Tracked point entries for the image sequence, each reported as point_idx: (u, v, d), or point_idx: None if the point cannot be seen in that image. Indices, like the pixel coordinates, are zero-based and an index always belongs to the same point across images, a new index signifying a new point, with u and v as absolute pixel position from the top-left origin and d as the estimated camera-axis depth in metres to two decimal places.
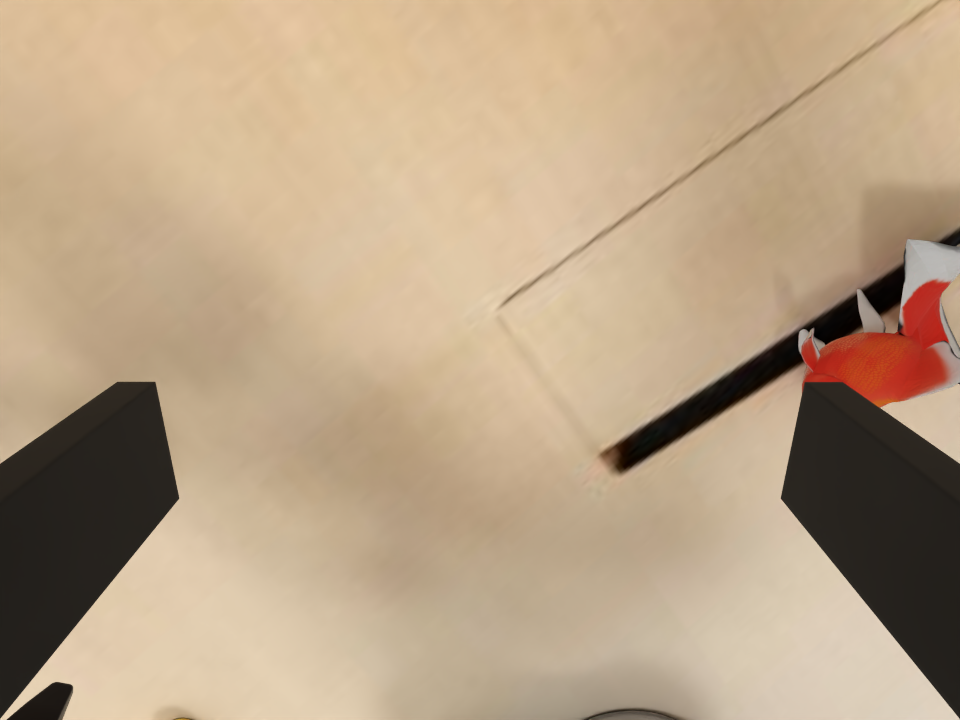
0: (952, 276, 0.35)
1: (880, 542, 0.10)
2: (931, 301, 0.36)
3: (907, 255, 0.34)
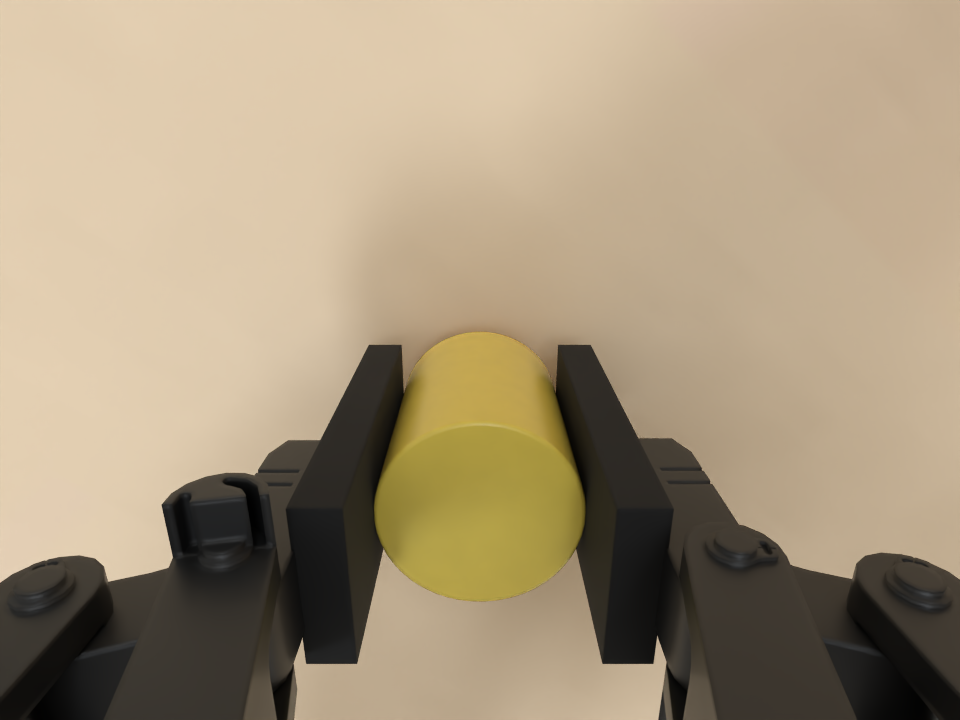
0: None
1: None
2: None
3: None
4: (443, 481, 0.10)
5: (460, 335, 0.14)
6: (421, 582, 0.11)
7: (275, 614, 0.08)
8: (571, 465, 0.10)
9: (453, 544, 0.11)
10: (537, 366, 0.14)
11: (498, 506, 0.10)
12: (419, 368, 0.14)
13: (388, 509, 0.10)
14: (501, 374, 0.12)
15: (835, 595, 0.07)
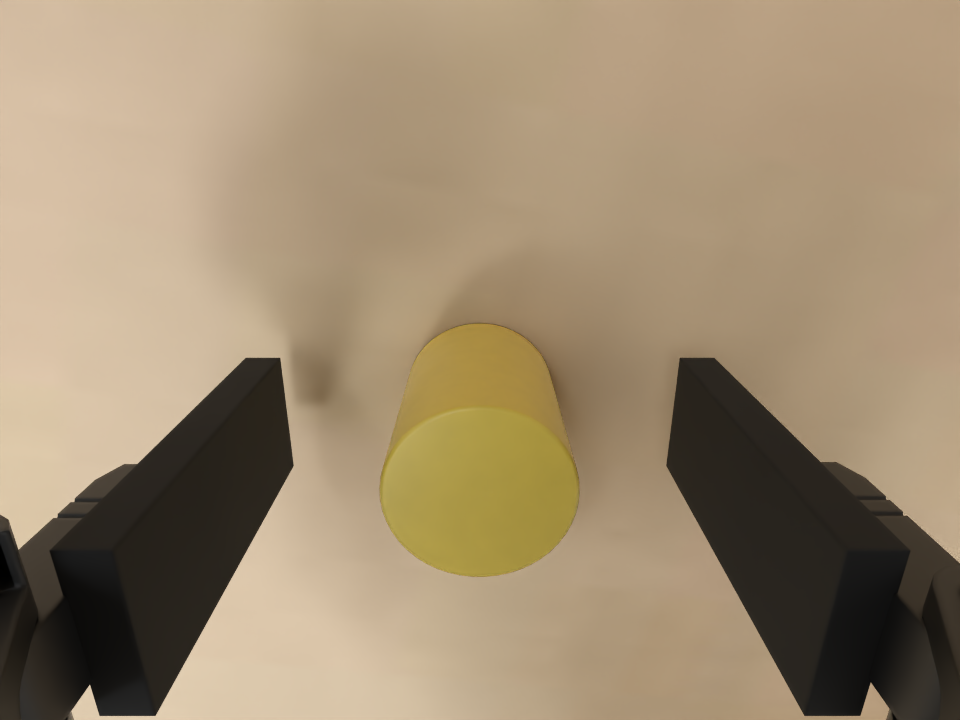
0: None
1: (721, 495, 0.11)
2: None
3: None
4: (445, 463, 0.11)
5: (461, 327, 0.15)
6: (424, 559, 0.12)
7: (34, 660, 0.07)
8: (565, 447, 0.11)
9: (454, 522, 0.11)
10: (534, 356, 0.14)
11: (497, 486, 0.11)
12: (421, 358, 0.14)
13: (393, 489, 0.11)
14: (500, 363, 0.12)
15: None
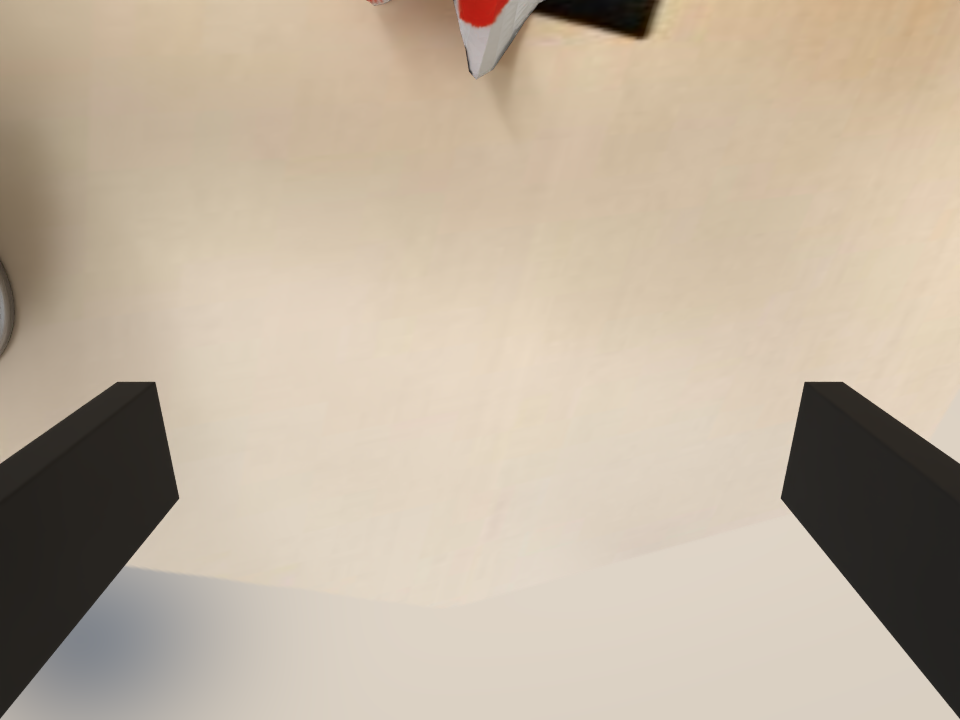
0: None
1: (880, 542, 0.10)
2: None
3: None
4: None
5: None
6: None
7: None
8: None
9: None
10: None
11: None
12: None
13: None
14: None
15: None
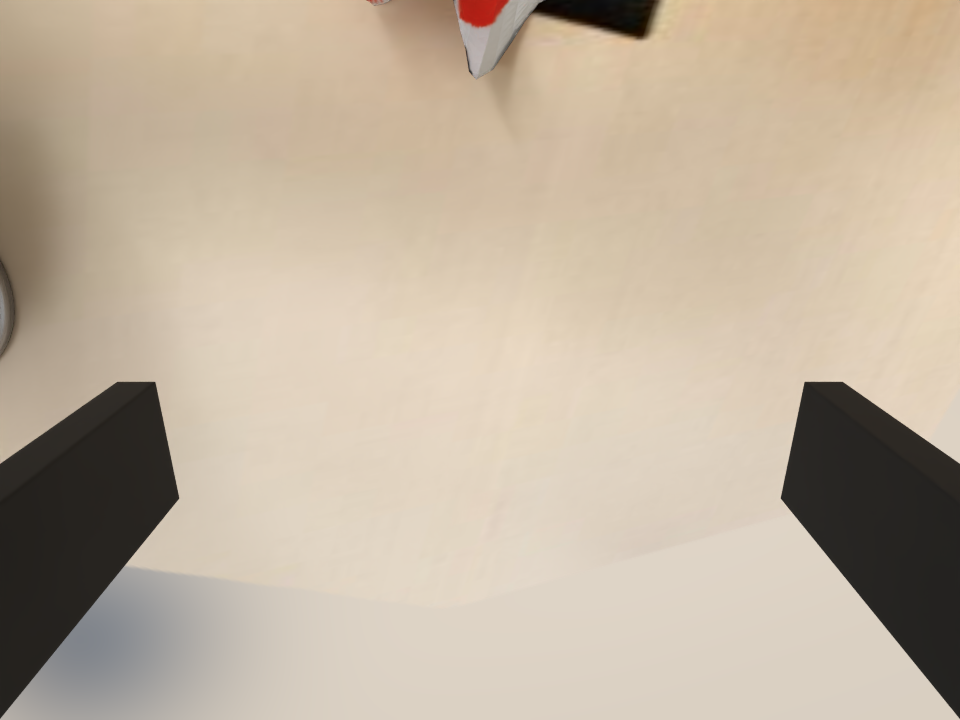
0: None
1: (880, 542, 0.10)
2: None
3: None
4: None
5: None
6: None
7: None
8: None
9: None
10: None
11: None
12: None
13: None
14: None
15: None
